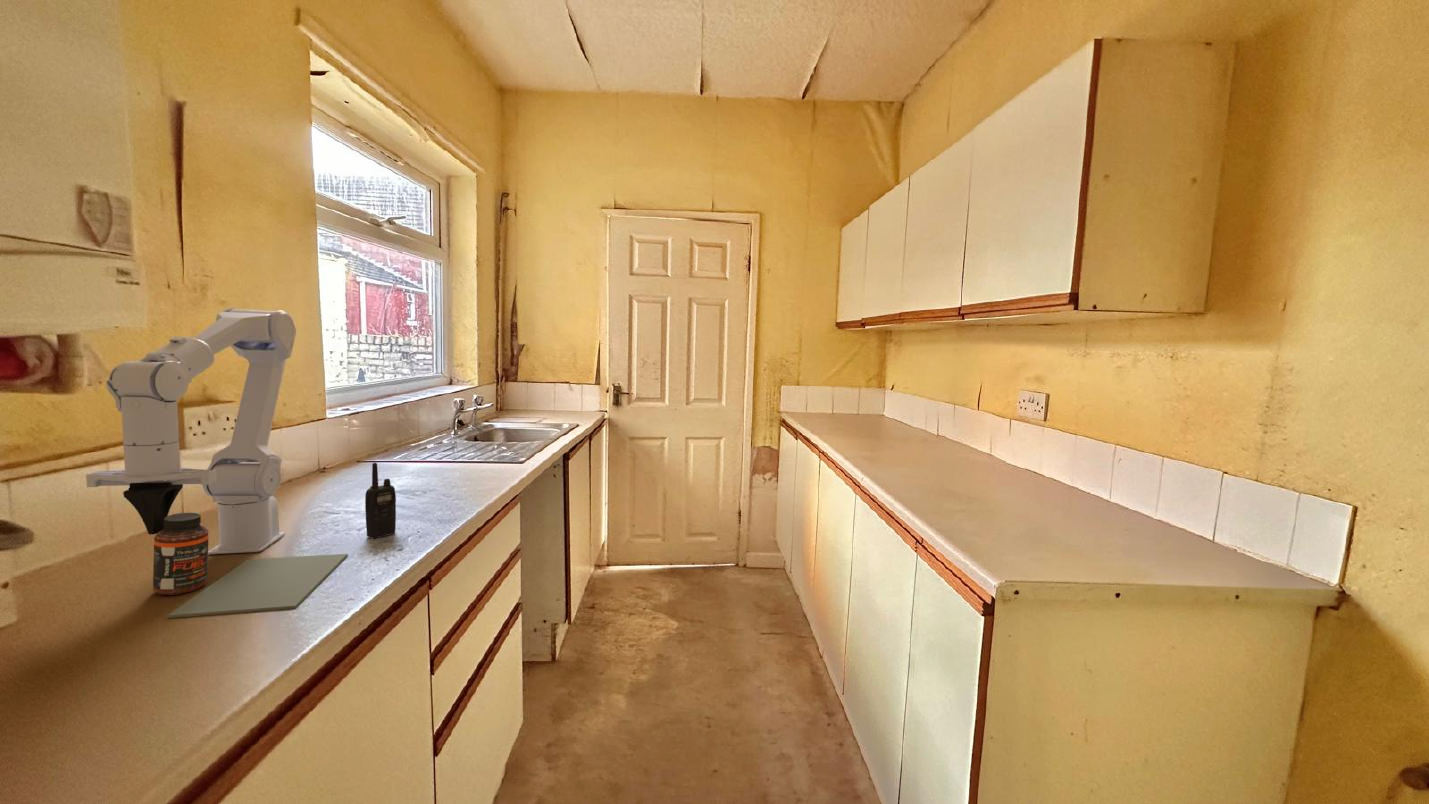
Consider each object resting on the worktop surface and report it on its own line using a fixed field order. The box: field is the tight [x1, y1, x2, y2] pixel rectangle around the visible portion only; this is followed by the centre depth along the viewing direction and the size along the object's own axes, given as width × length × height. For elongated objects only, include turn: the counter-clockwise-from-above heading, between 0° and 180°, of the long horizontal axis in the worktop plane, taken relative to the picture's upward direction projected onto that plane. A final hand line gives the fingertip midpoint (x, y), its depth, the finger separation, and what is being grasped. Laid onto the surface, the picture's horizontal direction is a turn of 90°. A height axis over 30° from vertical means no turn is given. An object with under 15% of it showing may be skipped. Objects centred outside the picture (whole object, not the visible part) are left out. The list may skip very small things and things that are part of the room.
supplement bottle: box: [152, 512, 209, 596], centre depth 83 cm, size 6×6×11 cm
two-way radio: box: [364, 462, 397, 539], centre depth 108 cm, size 6×4×15 cm
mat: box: [167, 553, 349, 619], centre depth 86 cm, size 20×15×1 cm
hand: (156, 532), depth 81 cm, fingers closed, pressing on supplement bottle
